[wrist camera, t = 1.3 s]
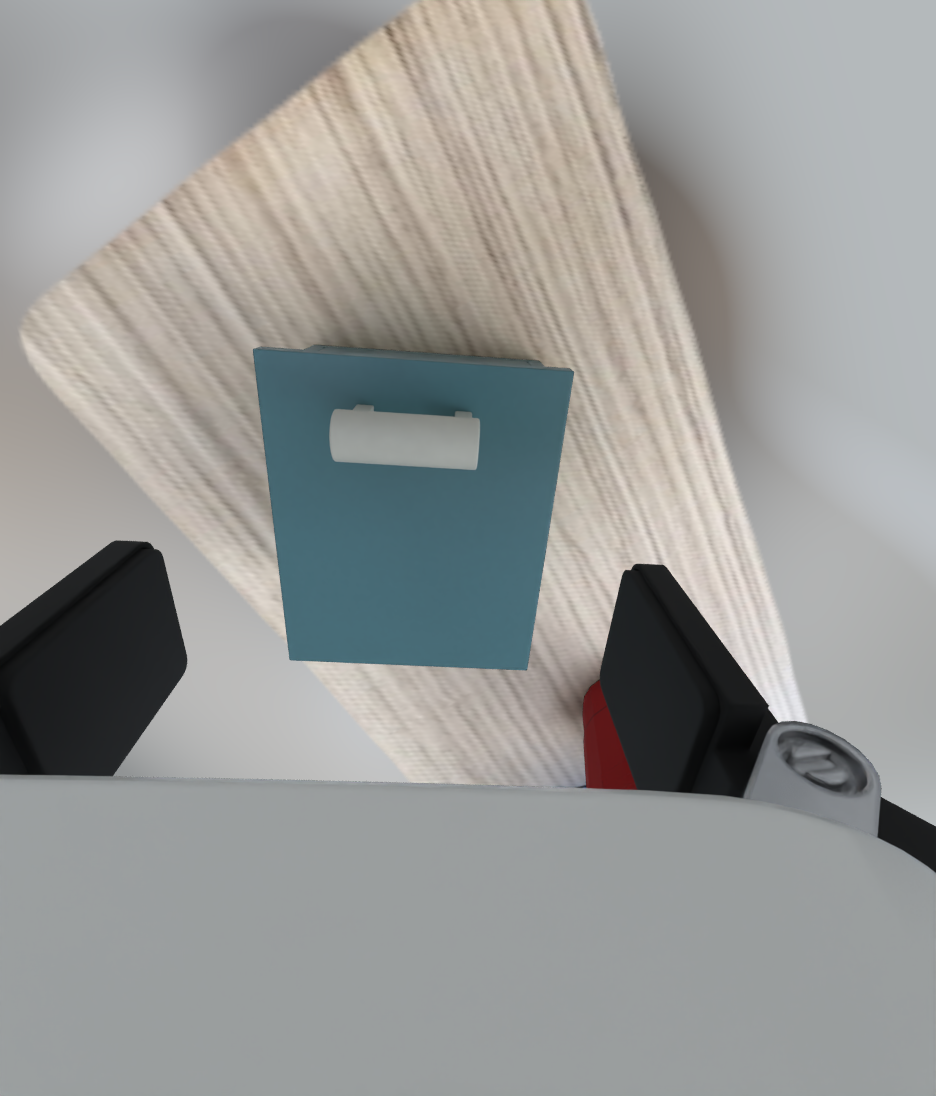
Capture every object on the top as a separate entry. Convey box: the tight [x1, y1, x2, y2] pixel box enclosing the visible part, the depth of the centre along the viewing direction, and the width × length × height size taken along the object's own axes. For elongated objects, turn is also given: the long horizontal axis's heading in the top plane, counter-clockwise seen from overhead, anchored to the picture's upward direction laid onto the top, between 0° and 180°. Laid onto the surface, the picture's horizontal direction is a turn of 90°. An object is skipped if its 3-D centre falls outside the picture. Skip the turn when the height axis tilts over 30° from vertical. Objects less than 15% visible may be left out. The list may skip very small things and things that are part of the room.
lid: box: [253, 347, 574, 670], centre depth 22 cm, size 15×13×5 cm
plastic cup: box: [583, 680, 637, 790], centre depth 36 cm, size 11×11×12 cm
